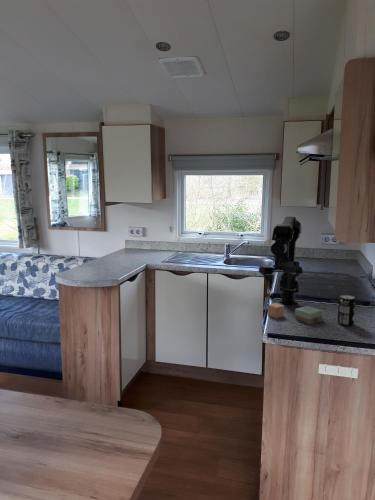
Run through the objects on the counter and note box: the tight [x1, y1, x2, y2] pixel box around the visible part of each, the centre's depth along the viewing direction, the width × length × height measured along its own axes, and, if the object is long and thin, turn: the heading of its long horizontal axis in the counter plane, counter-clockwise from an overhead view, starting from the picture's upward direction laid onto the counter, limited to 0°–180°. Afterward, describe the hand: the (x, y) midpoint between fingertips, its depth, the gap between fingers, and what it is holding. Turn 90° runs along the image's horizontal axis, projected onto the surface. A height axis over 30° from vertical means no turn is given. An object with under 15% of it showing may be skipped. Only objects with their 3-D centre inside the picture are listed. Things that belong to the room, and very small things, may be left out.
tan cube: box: [267, 302, 285, 319], centre depth 176 cm, size 5×5×5 cm
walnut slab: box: [295, 315, 324, 325], centre depth 171 cm, size 8×8×2 cm
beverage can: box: [336, 294, 357, 327], centre depth 165 cm, size 7×7×12 cm
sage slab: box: [294, 305, 323, 319], centre depth 171 cm, size 8×8×2 cm
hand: (279, 289), depth 169 cm, fingers open, 9 cm apart
